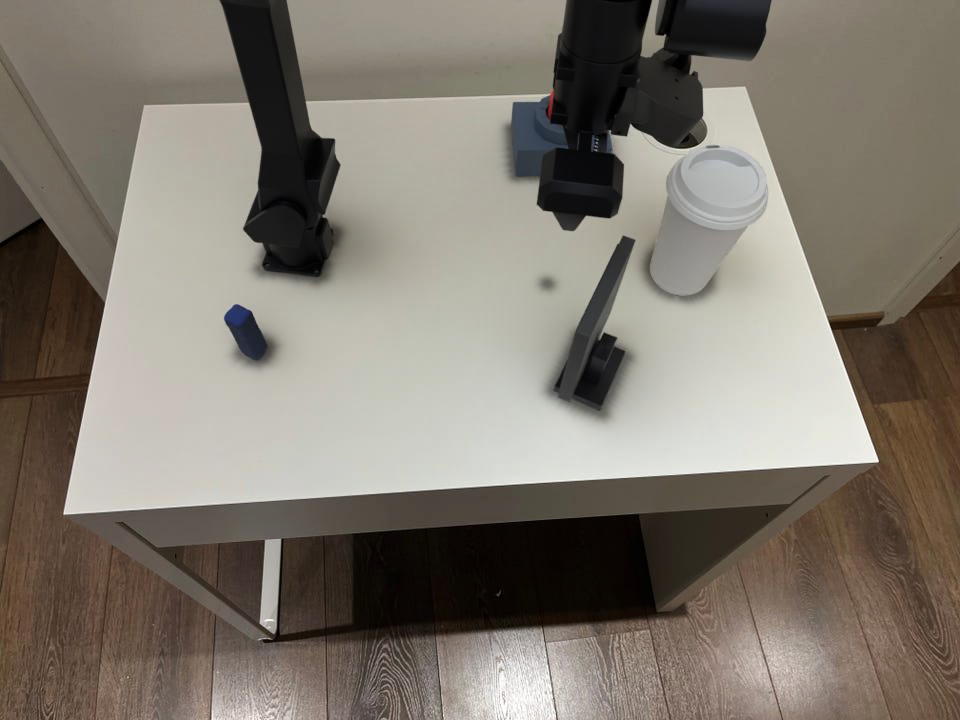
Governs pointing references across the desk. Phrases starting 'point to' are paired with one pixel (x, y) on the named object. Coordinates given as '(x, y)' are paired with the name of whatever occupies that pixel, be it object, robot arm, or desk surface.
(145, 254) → the desk surface
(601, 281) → the screen
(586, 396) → the monitor stand
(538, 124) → the switch box
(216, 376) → the desk surface
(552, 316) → the desk surface
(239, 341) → the eraser
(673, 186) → the coffee cup
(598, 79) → the robot arm
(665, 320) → the desk surface
